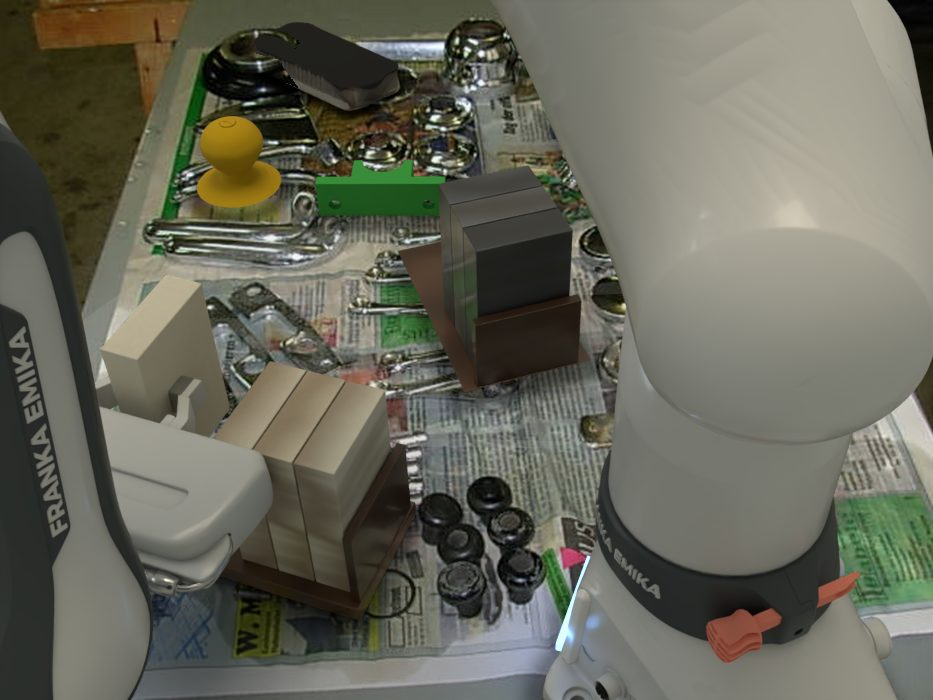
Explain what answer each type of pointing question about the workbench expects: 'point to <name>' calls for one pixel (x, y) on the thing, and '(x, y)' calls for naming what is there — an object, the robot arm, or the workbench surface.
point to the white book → (166, 354)
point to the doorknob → (235, 164)
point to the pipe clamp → (378, 193)
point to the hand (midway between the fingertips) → (168, 377)
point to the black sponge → (331, 66)
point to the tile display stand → (321, 489)
